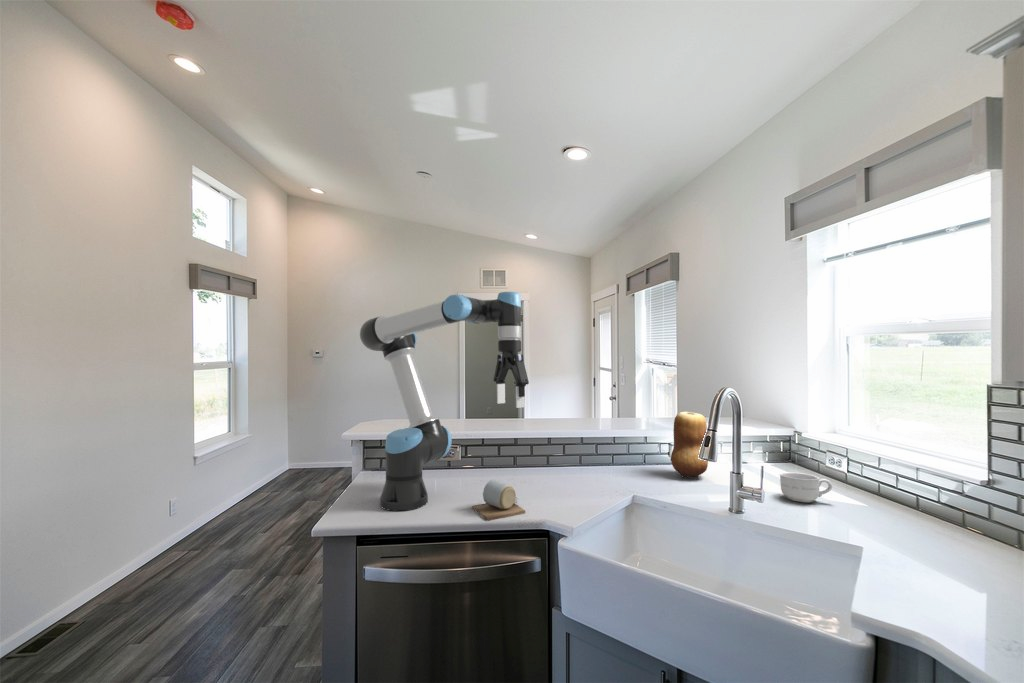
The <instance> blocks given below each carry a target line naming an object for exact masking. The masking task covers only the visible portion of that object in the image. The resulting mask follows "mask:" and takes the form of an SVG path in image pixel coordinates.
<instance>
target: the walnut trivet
mask: <svg viewBox="0 0 1024 683" xmlns="http://www.w3.org/2000/svg"><path fill="white" fill-rule="evenodd" d="M473 508H474V509H475V510H476V511H477V512H478V513H477V512H476V511H475V510H474V509H473ZM472 509H473V510H474V511H475V512H476V513H477V514H479V515H480V516H481V515H482V516H483V517H484V520H486V521H487V522H488V521H493V520H494V521H495V520H499V519H503V518H508V516H509V517H513V516H517V515H522V514H523V515H524V514H526V509H524V508H522V507H521V506H519V505H518V504H517V503H514V504H513V505H512V506H511V507H510V508H509V509H500V508H497V507H494V506H492V505H489V504H486V503H485V502H484V503H479V504H475V505H472ZM482 516H481V517H482ZM483 517H482V518H483Z"/></svg>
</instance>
